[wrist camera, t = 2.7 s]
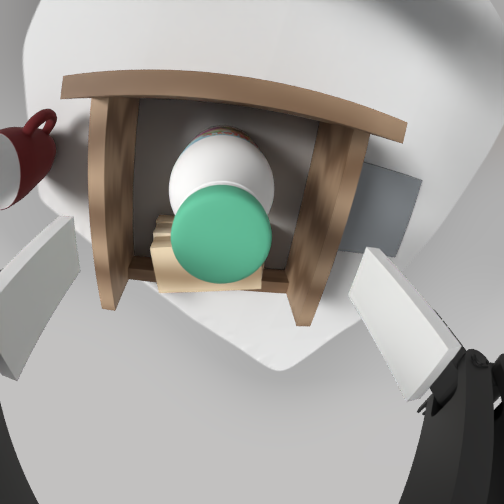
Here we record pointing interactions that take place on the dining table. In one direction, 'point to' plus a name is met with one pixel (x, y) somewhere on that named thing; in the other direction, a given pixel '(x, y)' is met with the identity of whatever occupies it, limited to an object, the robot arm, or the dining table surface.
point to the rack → (234, 93)
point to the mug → (25, 157)
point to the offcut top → (179, 280)
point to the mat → (379, 210)
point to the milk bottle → (221, 206)
